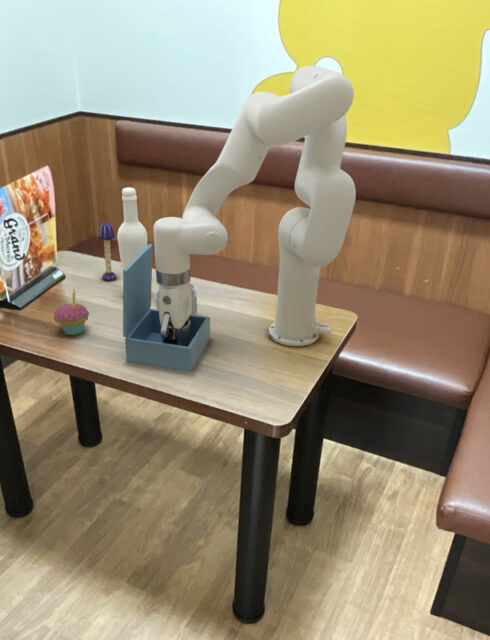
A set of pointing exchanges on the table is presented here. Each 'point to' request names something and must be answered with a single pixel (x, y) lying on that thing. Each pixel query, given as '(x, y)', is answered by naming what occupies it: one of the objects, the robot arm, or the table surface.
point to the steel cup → (182, 334)
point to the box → (151, 351)
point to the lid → (137, 289)
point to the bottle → (130, 230)
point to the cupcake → (71, 317)
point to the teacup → (193, 297)
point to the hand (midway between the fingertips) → (176, 344)
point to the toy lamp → (107, 249)
